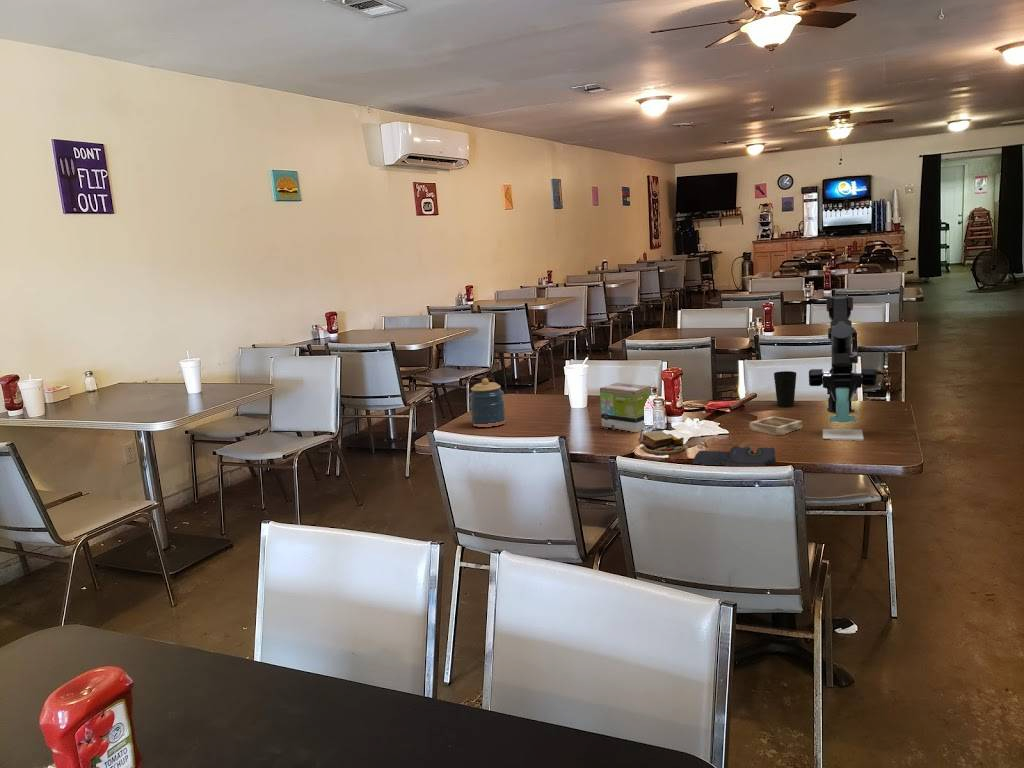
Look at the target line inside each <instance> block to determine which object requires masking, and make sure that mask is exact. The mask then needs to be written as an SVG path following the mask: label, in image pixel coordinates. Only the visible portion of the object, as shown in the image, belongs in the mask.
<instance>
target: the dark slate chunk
mask: <svg viewBox="0 0 1024 768" xmlns="http://www.w3.org/2000/svg"><path fill="white" fill-rule="evenodd" d="M776 461H777V460H776V451H775V447H772V446H771V447H767V446H766V447H762V446H760V447H757V448H756V452H754V450H753V449H752V448H751V447H749V446H744V447H740V446H737V445H734V446H732V447H731V448H730V450H729V451H720V450H710V451H709V450H699V451H698V452H697V453H696V454H695V455H694V457H693V460H692V465H693V464H701V465H725V466H765V465H775V466H776Z"/></svg>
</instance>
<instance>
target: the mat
mask: <svg viewBox="0 0 1024 768" xmlns="http://www.w3.org/2000/svg"><path fill="white" fill-rule="evenodd" d="M823 439H831V440H830V441H852V440H855V441H856V442H857V441H860V442H861V441H863V442H864V441H865V440H864V439H865V438H864V434H863V429H848V428H847V429H843V428H839V429H838V428H830V429H829V428H823V429H822V440H823ZM855 441H854V442H855Z"/></svg>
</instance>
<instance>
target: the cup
mask: <svg viewBox="0 0 1024 768" xmlns="http://www.w3.org/2000/svg"><path fill="white" fill-rule="evenodd" d="M773 380H774V385H775V388H774V389H775V396H776V406H777V407H779V408H792V407H794V406H795V405H794V404H795V397H796V395H795V393H796V386H797V385H796V382H797V372H796V371H790V370H787V371H786V370H784V371H775V372H773ZM791 406H792V407H791Z"/></svg>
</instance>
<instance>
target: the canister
mask: <svg viewBox="0 0 1024 768" xmlns="http://www.w3.org/2000/svg"><path fill="white" fill-rule="evenodd" d="M470 390H471V392H470V393H469V394H468V396H469V398H470V403H469V406H470V407H469V408H470V416H471V420H470V421H472V422H471V424H472V423H474V424H488V423H496V422H501V421H504V420H505V419H506V420H507V417H506V416H507V415H506V409H505V400H504V396H503V395H504V391H503V390H502V389H501V384H499V383H497V382H494V381H492V382H491V381H489V379H488V378H486V377H484V378H482V379H481V382H479V383H475V384H474V385H473V386H472V387H470Z"/></svg>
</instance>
